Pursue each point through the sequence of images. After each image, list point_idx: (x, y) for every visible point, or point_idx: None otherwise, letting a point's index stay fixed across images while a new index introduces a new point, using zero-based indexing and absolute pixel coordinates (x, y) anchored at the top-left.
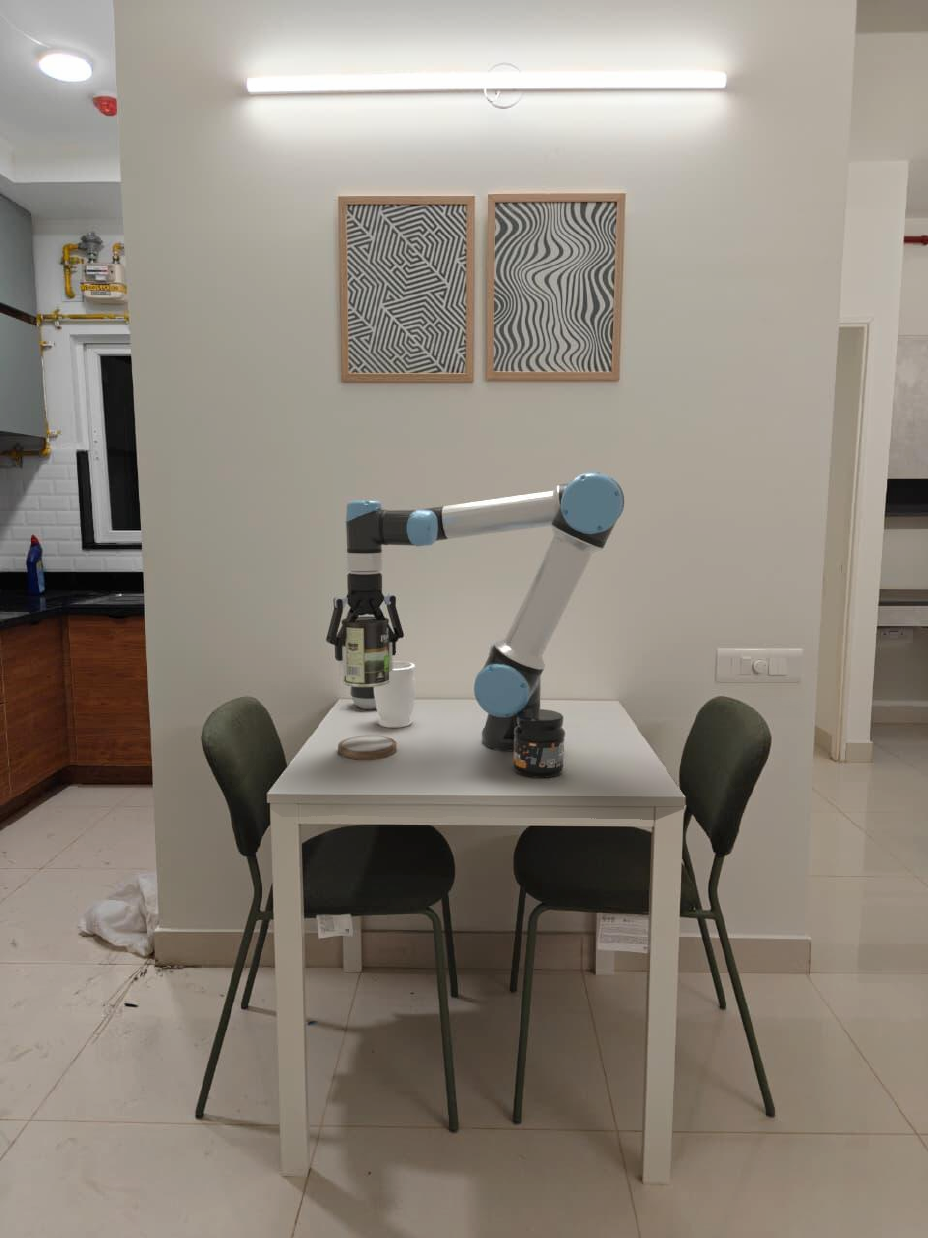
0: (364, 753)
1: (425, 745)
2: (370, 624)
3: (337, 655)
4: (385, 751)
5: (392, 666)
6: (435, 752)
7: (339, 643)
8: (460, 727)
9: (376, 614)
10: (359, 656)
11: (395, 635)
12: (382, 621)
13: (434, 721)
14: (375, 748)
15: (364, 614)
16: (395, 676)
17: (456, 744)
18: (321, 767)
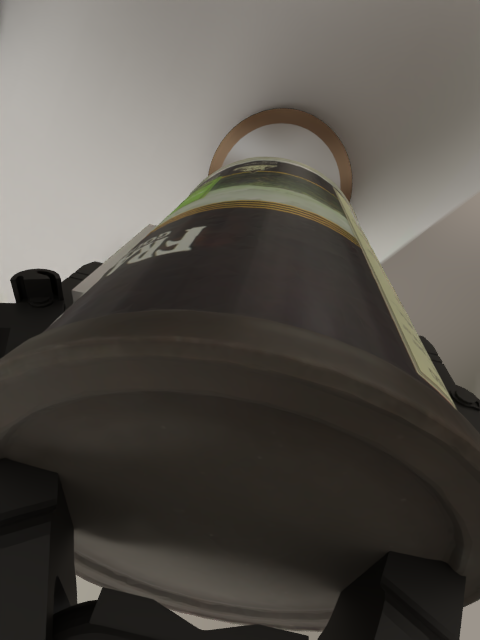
0: (330, 129)
1: (144, 126)
2: (347, 361)
3: (437, 357)
4: (275, 109)
5: (141, 231)
6: (148, 45)
7: (474, 401)
8: (16, 194)
9: (57, 574)
10: (373, 253)
11: (10, 324)
12: (69, 375)
13: (56, 267)
14: (290, 137)
15: (243, 636)
16: None
17: (69, 72)
18: (444, 150)
